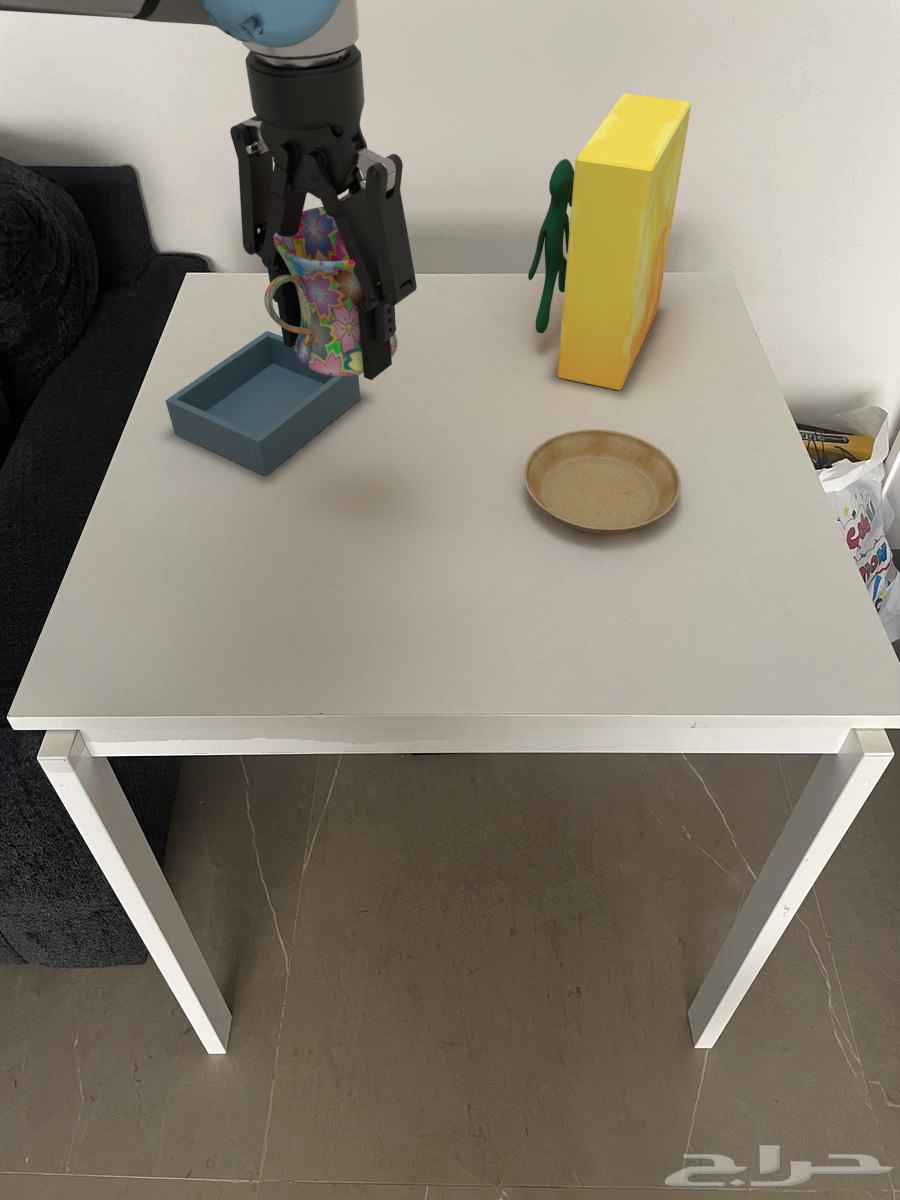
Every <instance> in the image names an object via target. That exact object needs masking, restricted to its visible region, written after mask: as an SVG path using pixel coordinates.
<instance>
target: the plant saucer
mask: <svg viewBox="0 0 900 1200" xmlns="http://www.w3.org/2000/svg"><path fill="white" fill-rule="evenodd" d="M523 479H524V481H523V482H524V484H525V487H526V490H527V492H528V493H529V495H530V497H531V498H532V499H533V500H534V502H535V503H536V504H537V505H538V507H540V508H541V509H542V510H543V511H544V512H545V513H546V514H548V515H549V516H550V517H552V518H553V519H554V520H557V521H558V522H560V523H561V524H564V525H566V526H567V527H570V528H573V529H576V530H579V531H581V532H585V533H589V534H601V535H602V534H603V535H607V534H608V535H611V534H613V535H614V534H621V533H627V532H631V531H635V530H639V529H640V528H643V527H646V526H648V525H650V524H651V523H654V522H655V521H658V520H659V519H660V518H661V517H663V516H664V515H666V514H667V513H668V512H669V511H671V509H672V508H673V507H674V505H676V503H677V501H678V499H679V496H680V493H681V488H682V483H681V477H680V473H679V471H678V469H677V467H676V465H675V464H674V462H673V461H672V459H670V457H669V456H668V455H667V454H666V453H664V452H663V451H662V450H661V449H660V448H658V447H657V446H655V445H654V444H652V443H650V442H649V441H647V440H645V439H642V438H640V437H637V436H635V435H631V434H628V433H625V432H621V431H617V430H610V429H598V428H597V429H595V428H592V429H579V430H573V431H568V432H564V433H560V434H558V435H556V436H553V437H551V438H549V439H547V440H545V441H544V442H542V443H541V444H540V445H538V446H537V447H536V448H535V449H533V451H532V452H531V454H530V455H529V456H528V458H527V460H526V462H525V464H524V471H523Z"/></svg>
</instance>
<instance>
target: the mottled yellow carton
mask: <svg viewBox="0 0 900 1200" xmlns="http://www.w3.org/2000/svg"><path fill="white" fill-rule="evenodd" d="M691 109H692V103H691V101H690V100H682V99H675V98H665V97H659V96H658V97H657V96H652V95H651V96H649V95H642V94H635V93H627V92H624V93H622V94H621V96H620V97H619V98H618V100H617V101H616V102H615V104H614V105H613V106H612V108H611V109H610V111H609V112H608V114H607V115H606V117H605V118H604V119H603V120H602V122H601V123H600V125H599V126H598V127H597V129H596V130H595V132H594V133H593V134H592V136H590V138H589V140H588V141H587V143H586V144H585V145H584V147H583V148H582V150H581V151H580V152H579V154H578V155H577V156H576V157H575V159H574V166H573V164H572V162H571V161H570V160H569V159H567V158H564V159H561V160H559V162H558V163H557V164H556V165H555V166H554V169H553V171H552V172H551V175H550V180H549V182H548V183H549V185H548V190H549V194H550V202H549V206H548V210H547V212H546V215H545V217H544V220H543V222H542V224H541V227H540V230H539V232H538V233H539V234H538V237H537V242H536V248H535V253H534V256H533V260H532V263H531V266H530V268H529V271H528V274H527V279H528V280H529V281H532V280H533V279H534V277H535V276H536V273H537V270H538V267H539V264H540V262H541V258H542V254H543V249H544V269H545V271H544V272H545V275H544V283H543V288H542V293H541V297H540V302H539V306H538V311H537V313H536V317H535V323H534V327H535V331H536V333H537V334H545V332H546V330H547V329H548V326H549V322H550V314H551V307H552V301H553V296H554V291H555V286H556V281H558V282H557V287H558V291H559V292H560V293H564V294H563V305H562V306H563V308H562V317H561V329H560V341H559V355H558V363H557V377H558V378H559V379H563V380H568V381H573V382H578V383H581V384H587V385H591V386H592V385H593V386H595V387H601V388H606V389H611V390H614V391H615V390H616V391H621V390H622V389H623V387H624V384H625V383H626V381H627V378H628V376H629V374H630V371H631V369H632V367H633V365H634V363H635V361H636V359H637V356H638V354H639V352H640V350H641V348H642V346H643V344H644V341H645V340H646V337H647V335H648V333H649V332H650V328H651V326H652V324H653V322H654V320H655V318H656V316H657V314H658V309H659V305H660V298H661V293H662V291H661V290H662V285H663V279H664V273H665V268H666V261H667V255H668V250H669V248H668V247H669V243H670V237H671V230H672V224H673V218H674V212H675V206H676V202H677V201H676V200H677V194H678V189H679V183H680V177H681V170H682V164H683V158H684V153H685V146H686V139H687V133H688V127H689V120H690V117H691ZM568 206H569V207H570V218H569V215H568V213H567V211H568ZM564 240H565V250H566V254H567V255H566V257H565V256H564Z"/></svg>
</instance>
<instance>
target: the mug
mask: <svg viewBox="0 0 900 1200" xmlns="http://www.w3.org/2000/svg"><path fill="white" fill-rule="evenodd" d="M274 244H275V247H276V248H277V250H278V252H279V253H280V255H281V256H282V258H283V259H284V261H285V263H286V265H287V267H288V269H289V271H290V273H291V275H292V276H291V275H281V276H279V277H277V278H275V279H274V280H273V281H272V282H271V283H270V282H269V284H268V286H267V288H266V290H265V292H264V297H263V299H264V307H265V309H266V311H267V313H268V315H269V316H270V318H271V319H272V321H274V322H275V323H276V324H277V325H279V326H280V328H281V327H283V328H285V329H287V330H289V331H291V332H294V333H299V335H298V337H297V340H296V343H295V352H296V355H297V357H298V359H299V360H300V361H301V362H302V363H303V364H304V365H305V366H307V367H308V368H310V369H311V370H313V371H316V372H319V373H322V374H326V375H331V376H355V375H358V376H359V375H364V372H363V361H362V350H361V339H360V328H359V317H358V306H357V303H358V302H360V301H361V300H363V299H364V298H365V296H364V294H363V291H362V289H361V286H360V284H359V281H358V278H357V276H356V273H355V271H354V266H355V261H354V260H350V258H349V256H348V253H347V251H346V248H345V246H344V243H343V241H342V238H341V236H340V233H339V230H338V228H337V225H336V223H335V220H334V218H333V217H330V216H328V215H327V214H326V212H325V209H324V207H323V206H318V207H314V208H309V209H306V210H303V212H302V217H301V221H300V226H299V230H298V234H296V235H294V236H291V237H283V236H280V235H278V234H277V233H275V234H274ZM289 281H291V282H294V283H295V286H296V289H297V292H298V296H299V301H300V308H301V326H300V327H295V326H291V325H288V324H287V323H285V322H284V321H282V320H281V319H280V316H279V314H277V312H276V310H275V307H274V303H273V302H274V299H273V296H274V293H275V291H276V290H277V288H278V287H279V286H280V285H281V284H283V283H285V282H289ZM379 283H380V282H378V284H379ZM390 343H391V359H393V357H394V356H395V354H396V352H397V349H398V338H397V335H396V333H395V334H394V335H393V336H392V337H391V338H390Z"/></svg>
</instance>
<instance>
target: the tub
mask: <svg viewBox="0 0 900 1200" xmlns="http://www.w3.org/2000/svg"><path fill="white" fill-rule="evenodd" d="M359 377H360V376H359V375H355V376H331V375H326V374H322V373H319V372H316V371H313V370H311V369H310V368H308V367H307V366H305V365H304V364H303V363H302V362H301V361H300V360H299V359H298V357H297V355H296V352H295V345H294V346H293V347H291V348H290V347H288V346H285V345H284V341H283V335H280V334H277V333H275V332H272V331H270V330H266V331H264V332H263V333H261V334H260V335H258V336H257V337H256V338H254V339H252V340H251V341H249V342H248V343H247V344H246V345H244V346H242V347H241V348H239V349H238V350H237V351H235V352H233V353H232V354H230V356H228V357H227V358H225V359H224V360H222V361H220V362H219V363H217V364H216V365H215V366H213V367H212V368H211V369H209V370H208V371H206V372H205V373H203V374H202V375H200V376H198V377H197V378H196V379H194V380H193V381H191V382H190V383H188V384H187V385H186V386H184V387H183V388H181V389H180V390H178V391H177V392H175V393H174V394H172V395H171V396H170V397H168V398H166V399H165V404H166V408H167V411H168V415H169V418H170V422H171V426H172V429H173V432H174V433H173V434H174V435H175V436H178V437H180V438H181V439H184V440H186V441H189V442H191V443H192V444H195V445H197V446H200V447H202V448H204V449H205V450H208V451H210V452H212V453H214V454H217V455H219V456H221V457H222V458H225V459H228V460H230V461H232V462H234V463H237V464H238V465H241V466H243V467H245V468H247V469H249V470H251V471H253V472H255V473H258V474H260V475H262V476H265V477H267V476H268V475H269V474H270V473H272V472H273V471H274V470H275V469H276V468H278V467H279V466H280V465H281V464H283V463H284V462H285V461H286V460H288V459H289V458H290V457H291V456H293V454H295V453H297V451H299V450H300V449H301V448H303V447H304V446H305V445H306V444H308V442H310V441H311V440H312V439H313V438H314V437H316V436H317V435H318V434H319V433H321V432H322V431H324V430H325V429H326V428H327V427H328V426H330V425H331V424H332V423H333V422H334V421H335V420H337V419H338V418H339V417H340V416H343V414H344V413H345V412H347V411H348V410H349V409H350V408H351V407H353V406H354V405H356V404H357V402H359V401H360V400H361V388H360V378H359Z"/></svg>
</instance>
